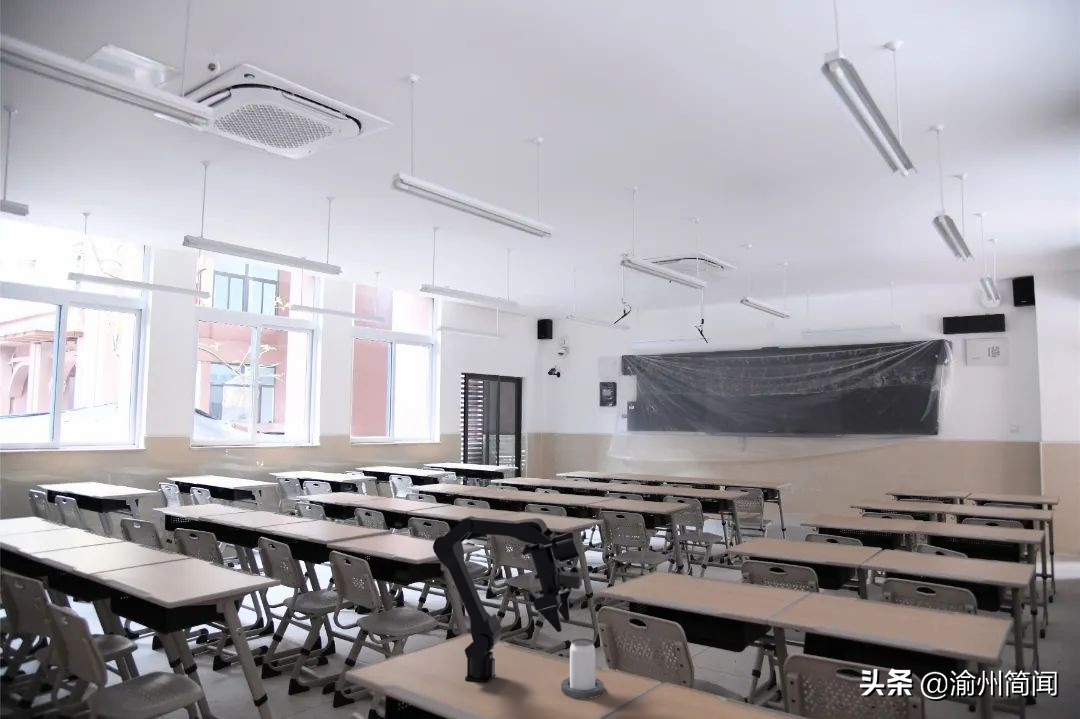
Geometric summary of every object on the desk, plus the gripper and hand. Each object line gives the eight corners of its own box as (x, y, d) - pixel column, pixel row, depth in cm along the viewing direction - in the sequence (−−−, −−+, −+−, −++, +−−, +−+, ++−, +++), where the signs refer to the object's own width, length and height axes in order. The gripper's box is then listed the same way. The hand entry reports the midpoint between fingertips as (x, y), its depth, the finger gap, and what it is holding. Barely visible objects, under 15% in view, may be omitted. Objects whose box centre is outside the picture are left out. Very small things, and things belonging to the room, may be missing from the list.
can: (593, 696, 172) (593, 646, 172) (567, 694, 173) (567, 645, 174) (596, 686, 178) (596, 638, 179) (571, 684, 179) (571, 636, 180)
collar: (558, 696, 171) (558, 690, 172) (566, 680, 182) (566, 674, 182) (600, 700, 169) (600, 694, 169) (605, 684, 179) (605, 678, 179)
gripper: (566, 566, 170) (585, 629, 168) (581, 551, 188) (599, 608, 186) (524, 578, 173) (543, 640, 171) (543, 562, 191) (561, 618, 189)
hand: (563, 626), depth 179 cm, fingers open, 9 cm apart
